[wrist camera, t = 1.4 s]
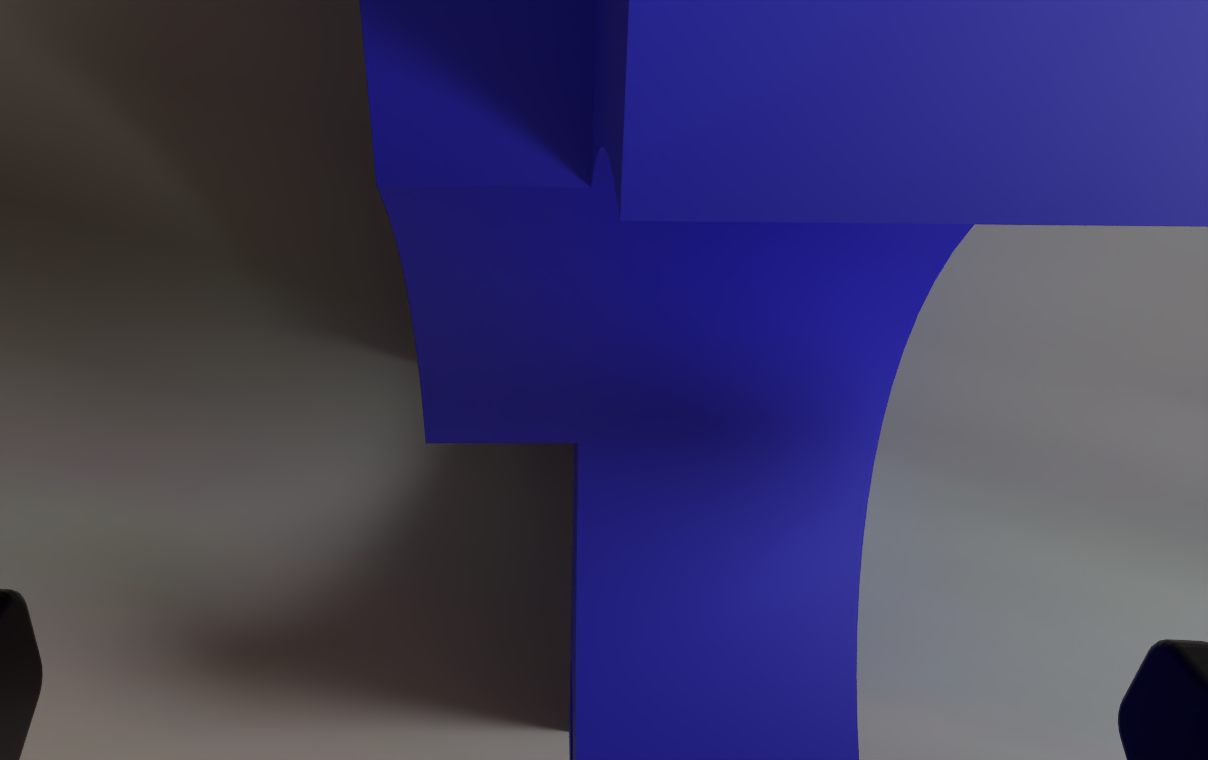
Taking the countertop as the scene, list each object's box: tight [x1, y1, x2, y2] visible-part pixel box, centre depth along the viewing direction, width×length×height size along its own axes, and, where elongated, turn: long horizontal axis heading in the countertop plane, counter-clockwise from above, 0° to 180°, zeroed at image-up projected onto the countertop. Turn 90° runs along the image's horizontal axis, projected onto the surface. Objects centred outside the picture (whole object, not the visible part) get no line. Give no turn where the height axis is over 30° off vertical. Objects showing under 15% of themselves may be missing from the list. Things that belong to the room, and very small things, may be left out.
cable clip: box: [360, 0, 1208, 760], centre depth 10 cm, size 12×4×6 cm, turn 178°
